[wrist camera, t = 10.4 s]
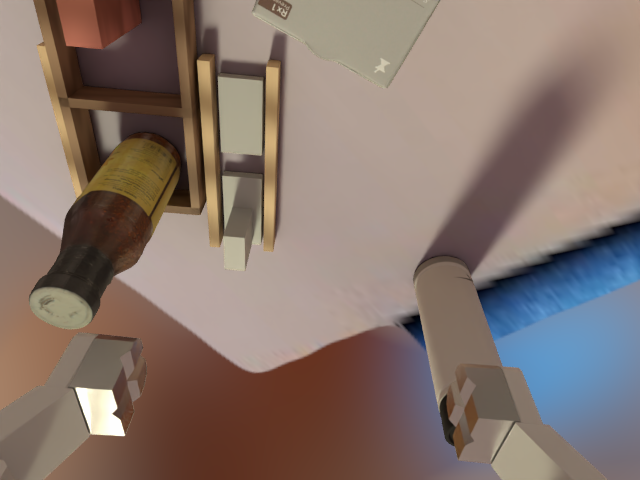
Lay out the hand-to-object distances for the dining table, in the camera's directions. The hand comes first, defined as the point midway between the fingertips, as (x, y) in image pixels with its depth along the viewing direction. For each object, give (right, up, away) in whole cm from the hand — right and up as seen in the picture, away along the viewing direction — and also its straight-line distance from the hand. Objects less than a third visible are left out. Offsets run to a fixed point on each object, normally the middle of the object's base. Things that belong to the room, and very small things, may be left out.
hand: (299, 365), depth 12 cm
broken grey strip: (-7, +11, +34) cm, 36 cm away
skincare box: (+3, +25, +23) cm, 34 cm away
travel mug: (+14, -1, +41) cm, 44 cm away
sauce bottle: (-16, +11, +34) cm, 39 cm away
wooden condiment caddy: (-16, +17, +29) cm, 37 cm away
